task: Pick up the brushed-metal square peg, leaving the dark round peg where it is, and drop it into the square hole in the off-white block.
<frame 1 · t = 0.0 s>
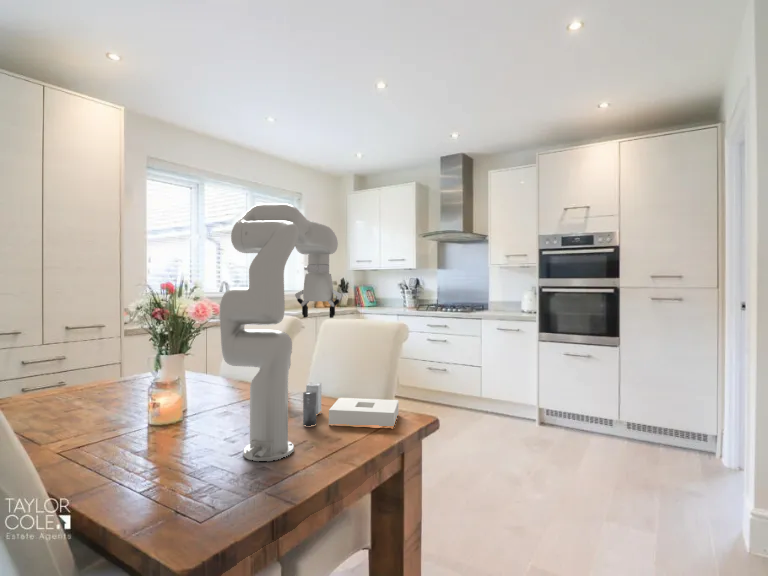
hand: (318, 317, 156), 31 cm above the table, tool pointing down, fingers open, 9 cm apart
round peg: (309, 425, 133), on the table
chalice: (281, 401, 159), on the table
square peg: (313, 414, 144), on the table
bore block: (364, 420, 138), on the table
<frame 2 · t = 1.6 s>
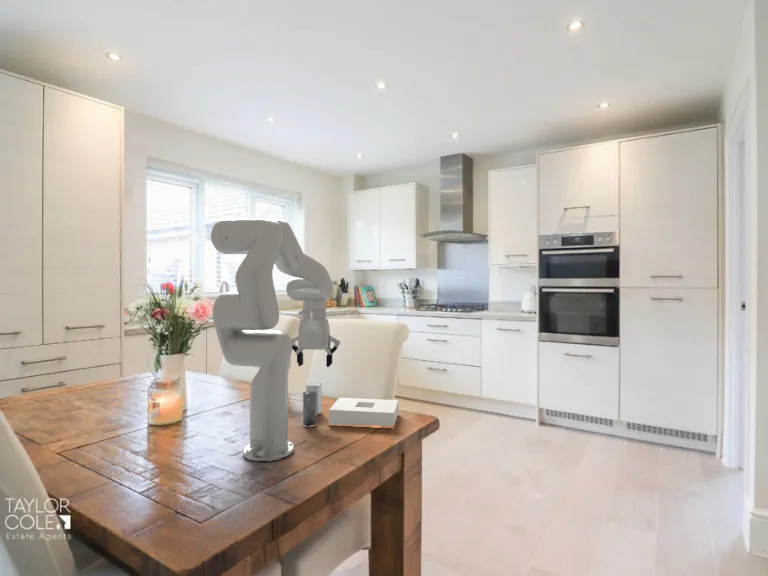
hand: (314, 365, 144), 16 cm above the table, tool pointing down, fingers open, 9 cm apart
nothing on the table moved.
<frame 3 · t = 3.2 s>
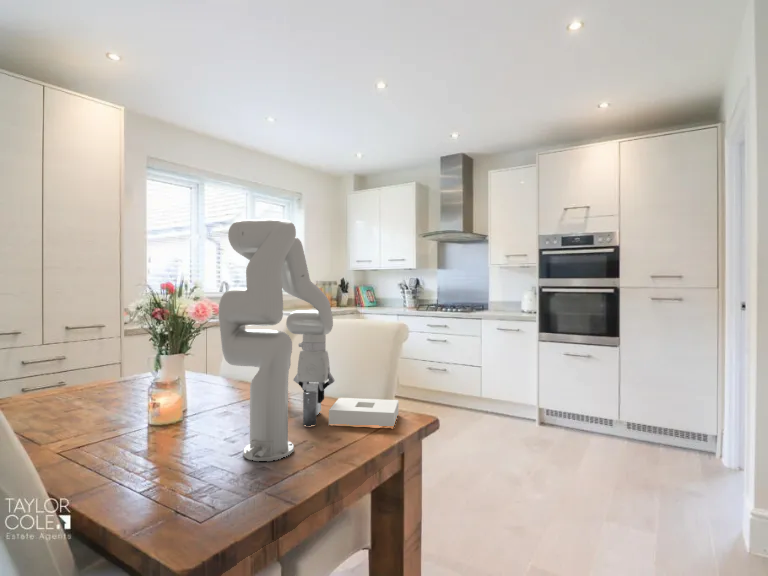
hand: (313, 401, 144), 4 cm above the table, tool pointing down, fingers closed on square peg, 3 cm apart
square peg: (313, 413, 144), on the table, touching gripper
everything else where it was.
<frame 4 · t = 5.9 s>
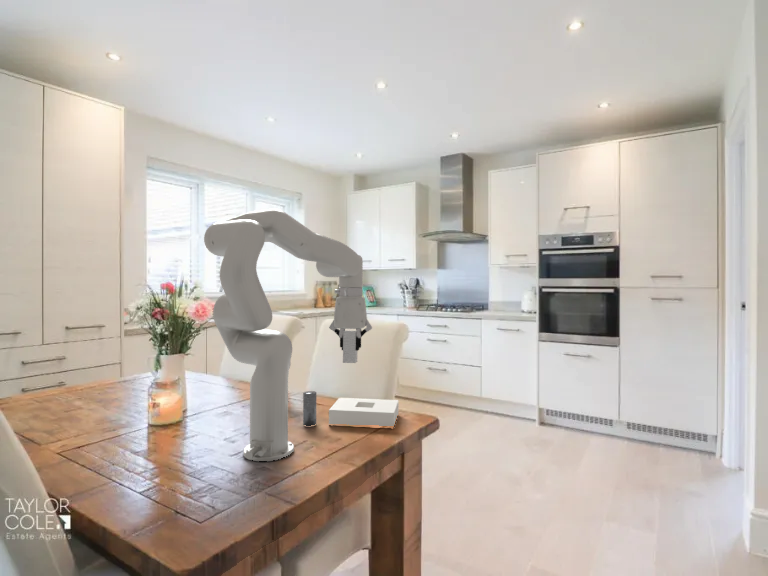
hand: (350, 349, 139), 22 cm above the table, tool pointing down, fingers closed on square peg, 4 cm apart
square peg: (350, 362, 139), point 18 cm above the table, touching gripper
everything else where it was.
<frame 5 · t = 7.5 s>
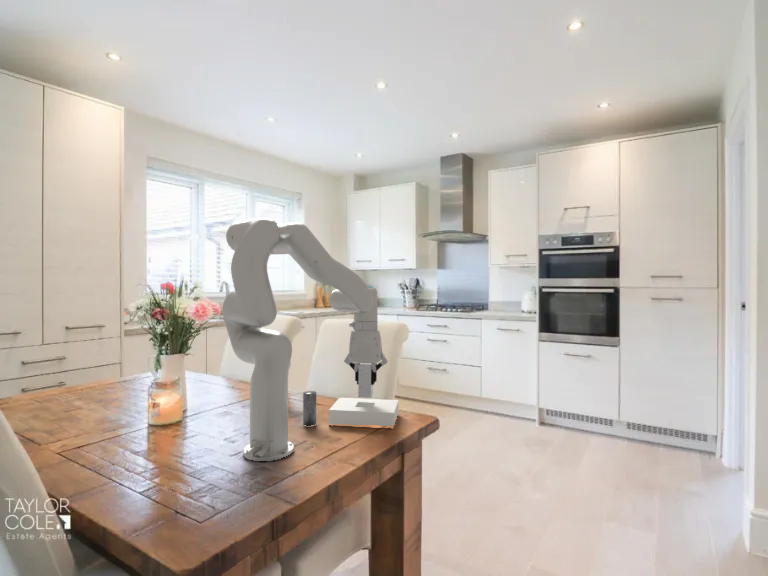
hand: (365, 383, 138), 12 cm above the table, tool pointing down, fingers closed on square peg, 4 cm apart
square peg: (365, 396, 137), point 8 cm above the table, touching gripper
everything else where it was.
when the fingers open (7 cm above the table, at t = 8.9 s): square peg drops 3 cm, resting in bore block.
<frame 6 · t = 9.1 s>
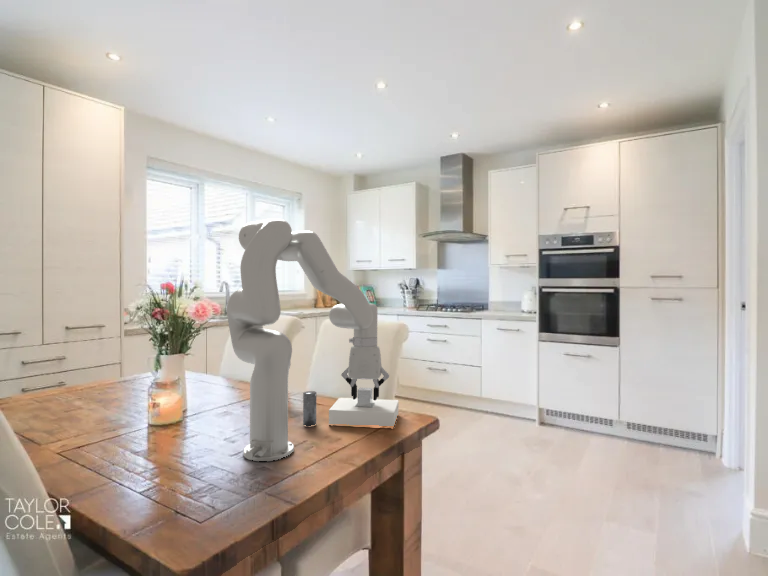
hand: (365, 398, 138), 7 cm above the table, tool pointing down, fingers open, 6 cm apart
square peg: (364, 420, 137), resting in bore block
everything else where it was.
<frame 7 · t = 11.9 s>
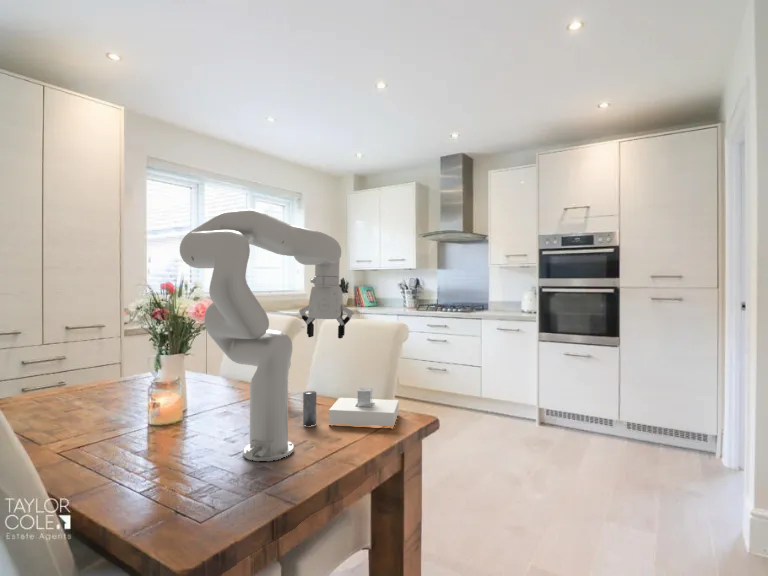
hand: (325, 337, 135), 27 cm above the table, tool pointing down, fingers open, 9 cm apart
nothing on the table moved.
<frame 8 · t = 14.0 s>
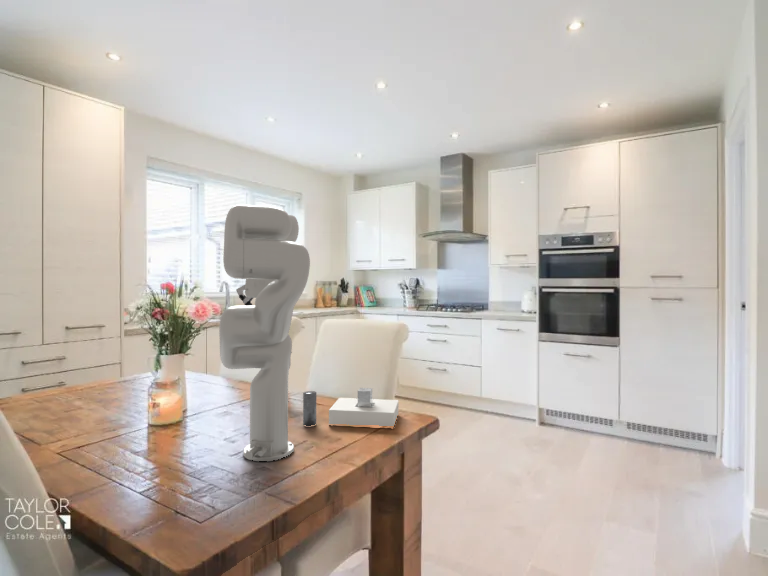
hand: (263, 316, 132), 33 cm above the table, tool pointing down, fingers open, 9 cm apart
nothing on the table moved.
at the end: square peg 0.5 cm off-centre on the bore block, point 0.0 cm above the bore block's base; square peg tilted 0°; round peg moved 0.0 cm from its start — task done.
